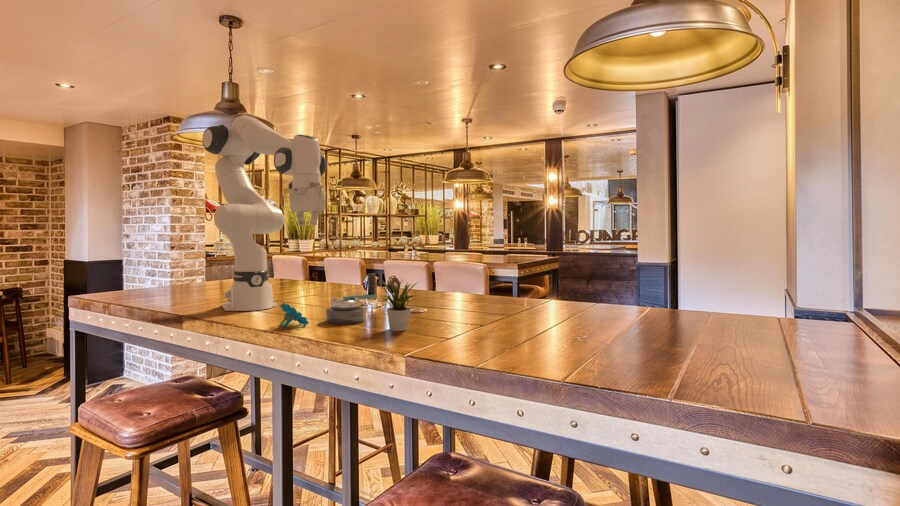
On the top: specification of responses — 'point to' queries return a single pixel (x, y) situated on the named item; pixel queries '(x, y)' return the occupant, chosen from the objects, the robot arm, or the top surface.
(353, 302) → the crank handle
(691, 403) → the top surface
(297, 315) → the toy dinosaur
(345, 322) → the nut housing
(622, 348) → the top surface
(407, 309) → the house plant
